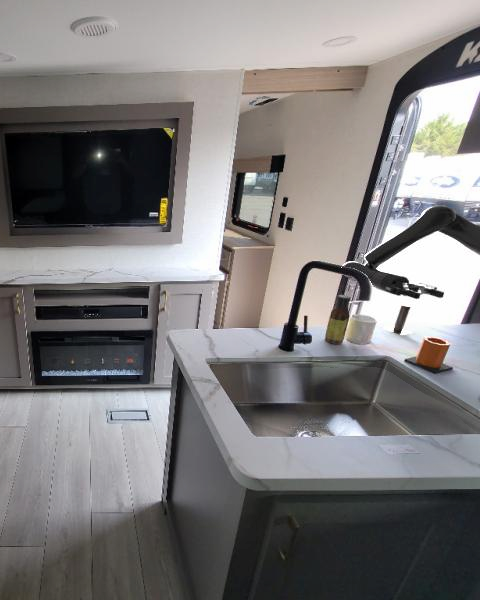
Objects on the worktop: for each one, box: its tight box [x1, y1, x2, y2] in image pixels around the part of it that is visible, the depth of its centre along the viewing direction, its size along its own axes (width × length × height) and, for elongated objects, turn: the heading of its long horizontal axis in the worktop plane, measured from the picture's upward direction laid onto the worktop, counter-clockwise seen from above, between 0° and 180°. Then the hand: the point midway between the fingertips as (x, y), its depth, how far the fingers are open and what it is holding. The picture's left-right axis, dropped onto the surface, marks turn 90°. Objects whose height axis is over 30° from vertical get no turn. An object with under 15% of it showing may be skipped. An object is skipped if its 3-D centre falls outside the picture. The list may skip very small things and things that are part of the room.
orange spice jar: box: [415, 336, 451, 368], centre depth 115 cm, size 6×6×9 cm
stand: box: [382, 303, 413, 336], centre depth 138 cm, size 7×7×13 cm
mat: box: [404, 355, 454, 375], centre depth 117 cm, size 9×9×1 cm
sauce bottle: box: [324, 294, 351, 345], centre depth 132 cm, size 7×6×20 cm
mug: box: [344, 313, 378, 346], centre depth 132 cm, size 12×8×10 cm
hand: (430, 295), depth 115 cm, fingers open, 8 cm apart
